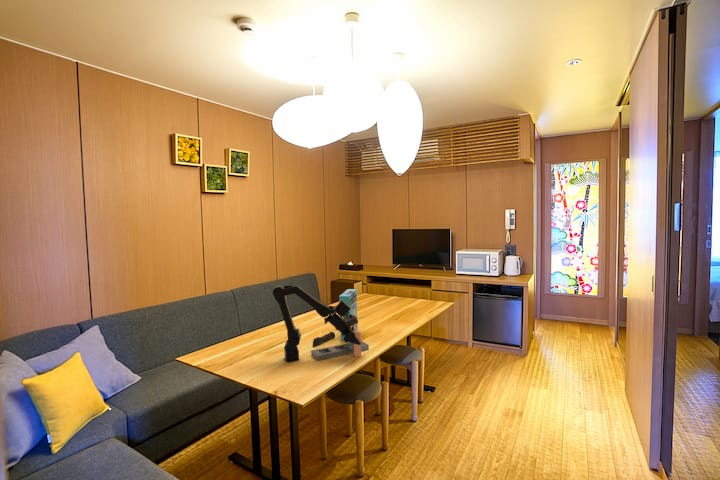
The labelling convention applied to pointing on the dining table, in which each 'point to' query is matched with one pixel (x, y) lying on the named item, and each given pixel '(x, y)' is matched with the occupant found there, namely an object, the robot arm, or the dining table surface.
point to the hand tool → (323, 339)
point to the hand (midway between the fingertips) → (359, 342)
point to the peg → (357, 347)
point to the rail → (336, 350)
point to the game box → (351, 300)
